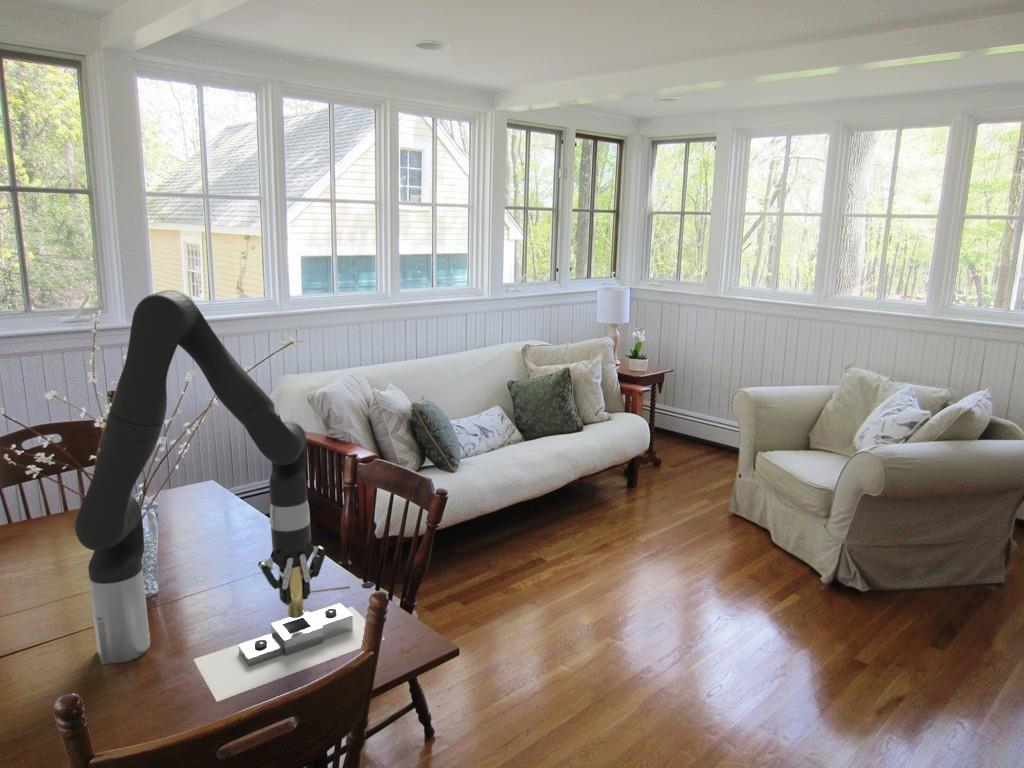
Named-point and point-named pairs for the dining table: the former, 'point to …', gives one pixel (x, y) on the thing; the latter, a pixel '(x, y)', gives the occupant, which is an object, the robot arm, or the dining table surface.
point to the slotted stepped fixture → (297, 634)
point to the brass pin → (296, 593)
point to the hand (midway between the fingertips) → (295, 599)
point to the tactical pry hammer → (364, 585)
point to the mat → (272, 662)
